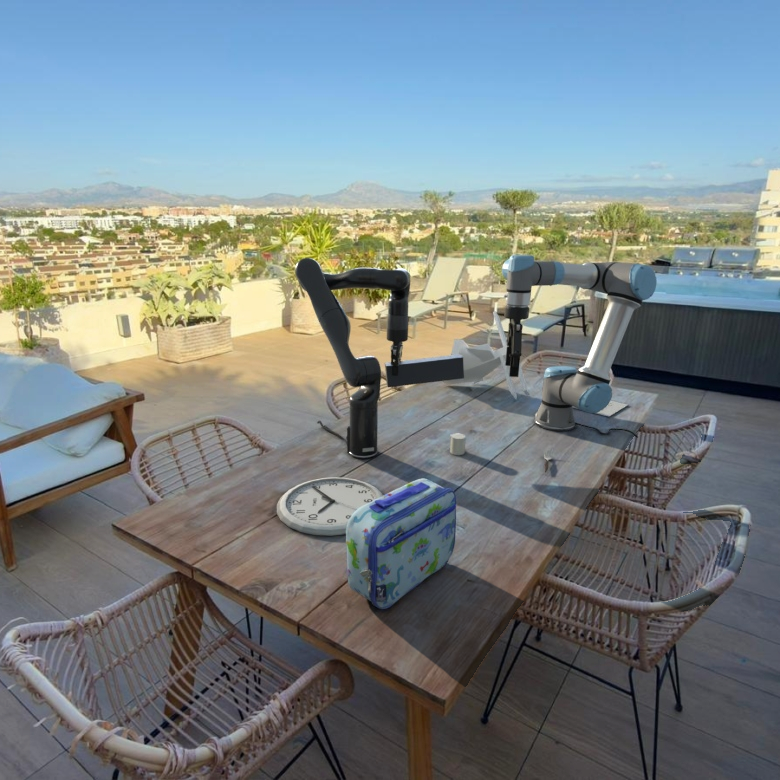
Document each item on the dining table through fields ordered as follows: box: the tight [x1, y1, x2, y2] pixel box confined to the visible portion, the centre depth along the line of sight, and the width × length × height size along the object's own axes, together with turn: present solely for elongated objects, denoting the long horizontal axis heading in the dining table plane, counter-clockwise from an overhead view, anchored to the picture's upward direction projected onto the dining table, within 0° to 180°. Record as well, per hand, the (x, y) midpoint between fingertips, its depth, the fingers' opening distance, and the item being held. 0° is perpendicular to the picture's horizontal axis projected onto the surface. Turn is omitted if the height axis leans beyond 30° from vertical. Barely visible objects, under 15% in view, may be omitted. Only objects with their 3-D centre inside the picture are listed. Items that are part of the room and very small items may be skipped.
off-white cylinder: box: [449, 432, 467, 456], centre depth 177 cm, size 5×5×6 cm
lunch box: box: [345, 477, 457, 610], centre depth 110 cm, size 26×11×21 cm, turn 134°
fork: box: [543, 448, 554, 473], centre depth 170 cm, size 3×16×2 cm, turn 160°
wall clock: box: [276, 476, 385, 537], centre depth 142 cm, size 30×2×30 cm
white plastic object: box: [442, 310, 531, 400], centre depth 245 cm, size 37×45×31 cm
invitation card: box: [573, 400, 629, 418], centre depth 226 cm, size 21×1×15 cm
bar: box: [384, 354, 464, 388], centre depth 190 cm, size 28×4×8 cm, turn 97°
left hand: (395, 373), depth 189 cm, fingers closed on bar, 5 cm apart
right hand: (511, 370), depth 171 cm, fingers open, 13 cm apart
